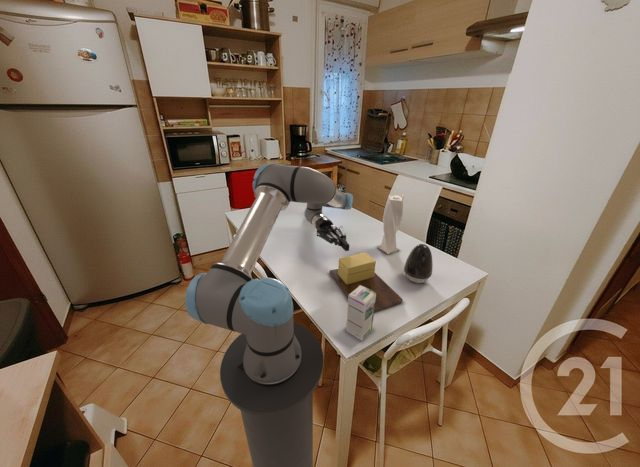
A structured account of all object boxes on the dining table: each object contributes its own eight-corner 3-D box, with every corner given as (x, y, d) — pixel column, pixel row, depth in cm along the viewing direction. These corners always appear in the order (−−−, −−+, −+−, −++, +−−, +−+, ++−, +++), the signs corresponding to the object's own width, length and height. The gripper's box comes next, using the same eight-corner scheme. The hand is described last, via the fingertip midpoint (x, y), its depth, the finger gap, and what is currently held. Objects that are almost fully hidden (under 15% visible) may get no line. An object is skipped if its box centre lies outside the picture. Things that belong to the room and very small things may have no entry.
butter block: (346, 284, 97) (347, 276, 95) (337, 274, 102) (338, 265, 100) (373, 276, 101) (375, 268, 99) (364, 267, 107) (364, 259, 105)
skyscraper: (401, 251, 120) (411, 193, 107) (388, 256, 117) (397, 197, 104) (388, 244, 127) (396, 188, 114) (375, 248, 123) (382, 191, 110)
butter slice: (347, 275, 95) (347, 268, 93) (338, 265, 100) (338, 258, 99) (375, 267, 99) (375, 261, 98) (364, 258, 105) (365, 252, 103)
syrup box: (361, 341, 76) (366, 303, 69) (345, 330, 79) (348, 293, 73) (372, 329, 80) (377, 292, 73) (355, 320, 83) (359, 283, 77)
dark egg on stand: (404, 285, 99) (411, 251, 92) (400, 269, 108) (406, 237, 101) (432, 288, 98) (442, 253, 91) (426, 271, 107) (434, 239, 100)
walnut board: (362, 316, 85) (363, 312, 84) (329, 273, 105) (329, 270, 104) (402, 302, 91) (402, 299, 90) (363, 264, 111) (363, 261, 110)
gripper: (334, 228, 127) (360, 252, 108) (309, 233, 122) (332, 259, 103) (335, 214, 124) (362, 236, 105) (309, 219, 119) (333, 242, 100)
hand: (347, 247), depth 104 cm, fingers closed
